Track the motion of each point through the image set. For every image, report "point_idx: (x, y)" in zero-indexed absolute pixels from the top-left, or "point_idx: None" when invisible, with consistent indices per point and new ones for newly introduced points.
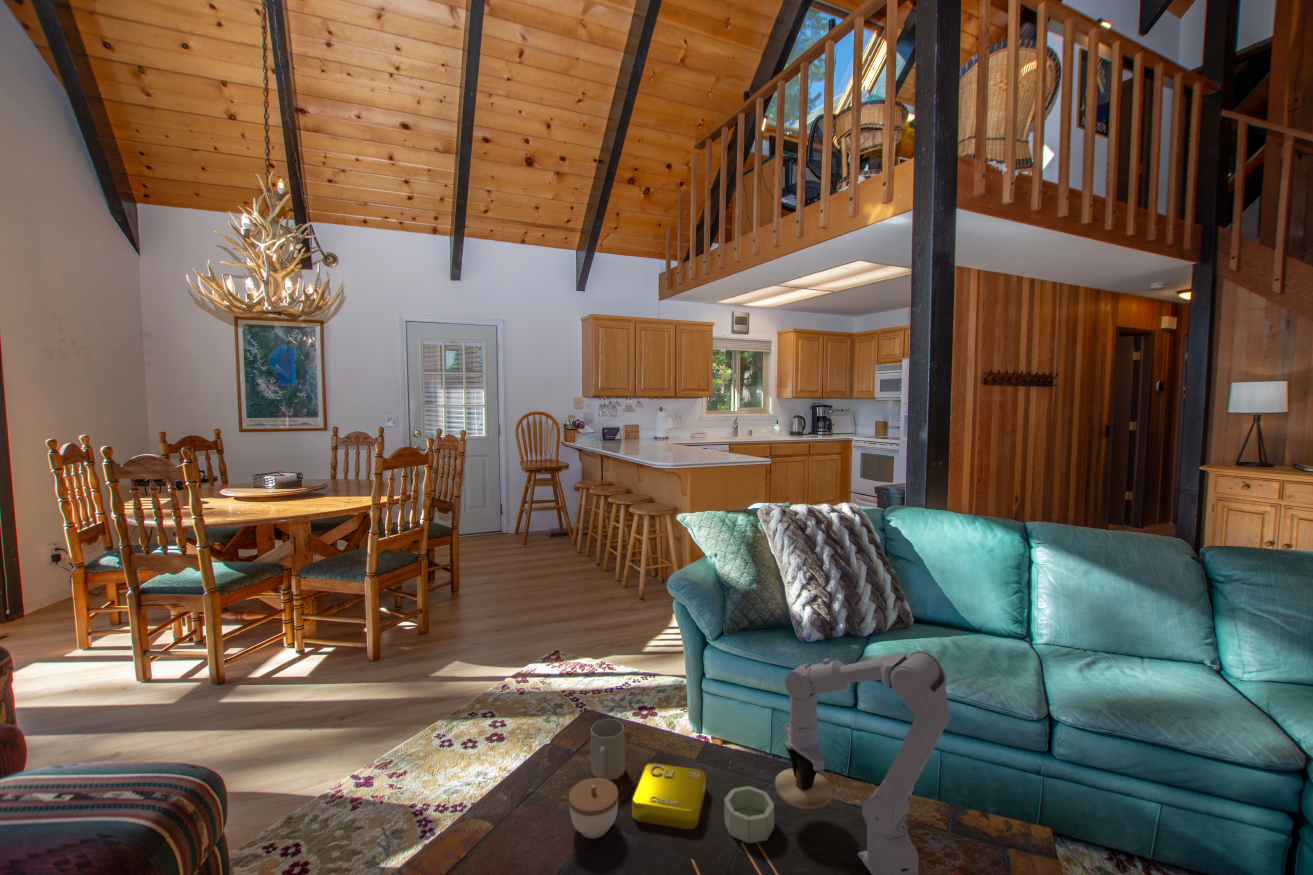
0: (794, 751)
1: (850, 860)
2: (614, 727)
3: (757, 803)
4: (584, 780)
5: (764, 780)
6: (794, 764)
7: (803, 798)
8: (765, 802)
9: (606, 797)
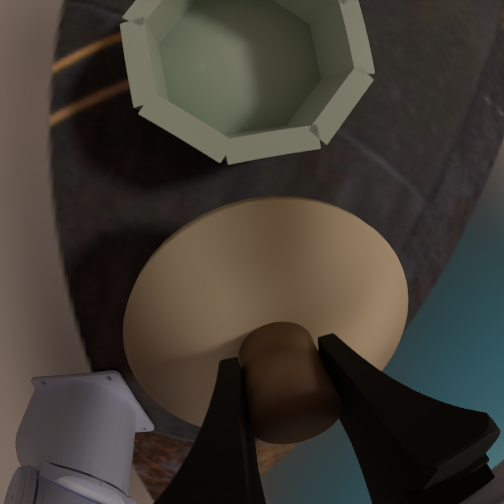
0: (395, 472)
1: (97, 349)
2: None
3: (309, 104)
4: None
5: (437, 184)
6: (354, 391)
7: (172, 336)
8: (274, 129)
9: None
